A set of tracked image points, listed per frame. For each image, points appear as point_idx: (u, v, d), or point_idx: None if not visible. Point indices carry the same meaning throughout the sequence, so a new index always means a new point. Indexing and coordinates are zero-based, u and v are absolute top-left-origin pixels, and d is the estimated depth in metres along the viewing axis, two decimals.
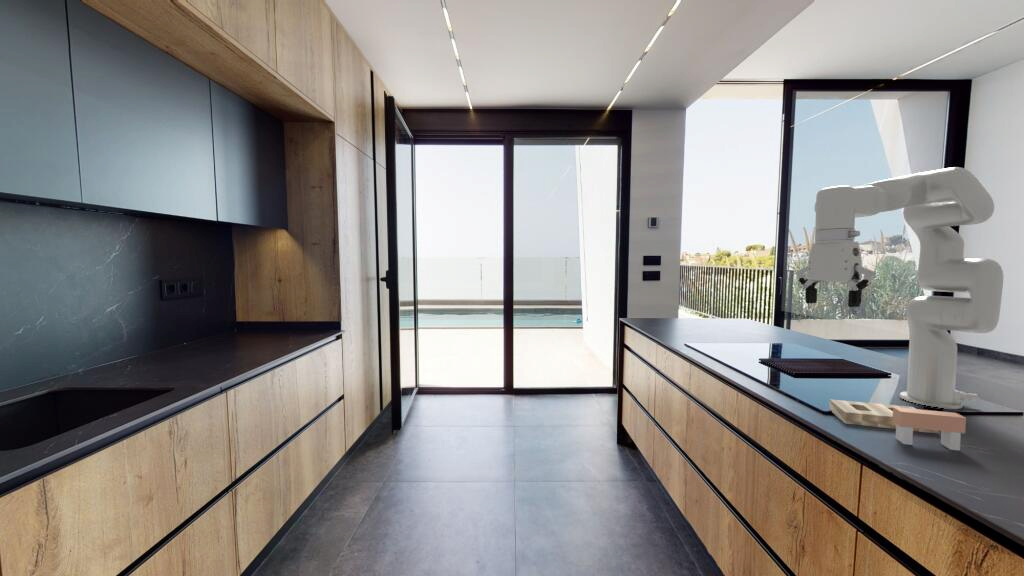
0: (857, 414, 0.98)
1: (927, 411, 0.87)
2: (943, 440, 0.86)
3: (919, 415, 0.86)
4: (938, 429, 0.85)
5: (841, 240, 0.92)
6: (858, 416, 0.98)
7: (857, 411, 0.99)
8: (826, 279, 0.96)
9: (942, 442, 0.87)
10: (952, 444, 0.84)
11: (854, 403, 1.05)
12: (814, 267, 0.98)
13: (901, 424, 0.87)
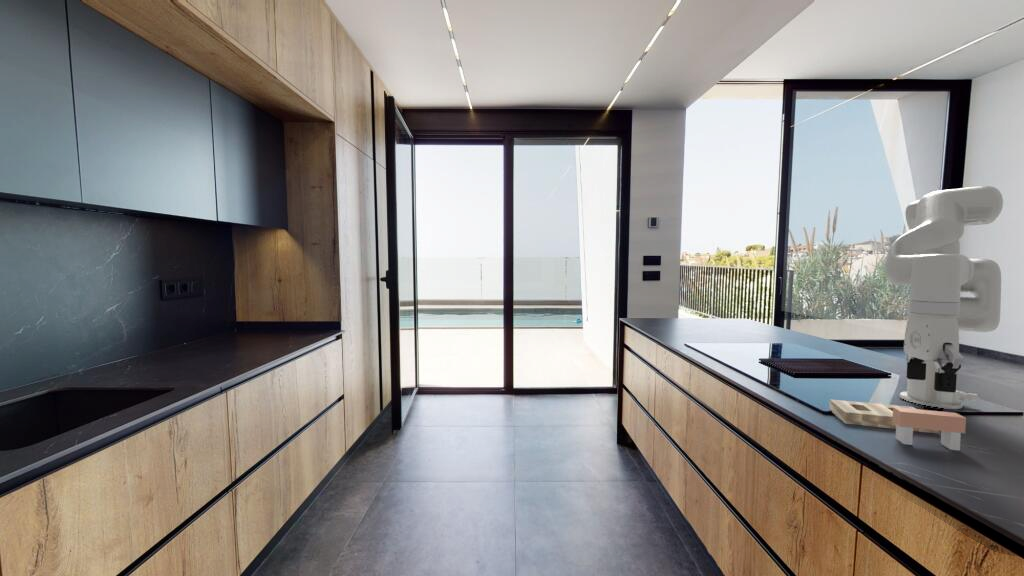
0: (857, 414, 0.98)
1: (927, 411, 0.87)
2: (943, 440, 0.86)
3: (919, 415, 0.86)
4: (938, 429, 0.85)
5: None
6: (858, 416, 0.98)
7: (857, 411, 0.99)
8: None
9: (942, 442, 0.87)
10: (952, 444, 0.84)
11: (854, 403, 1.05)
12: None
13: (901, 424, 0.87)
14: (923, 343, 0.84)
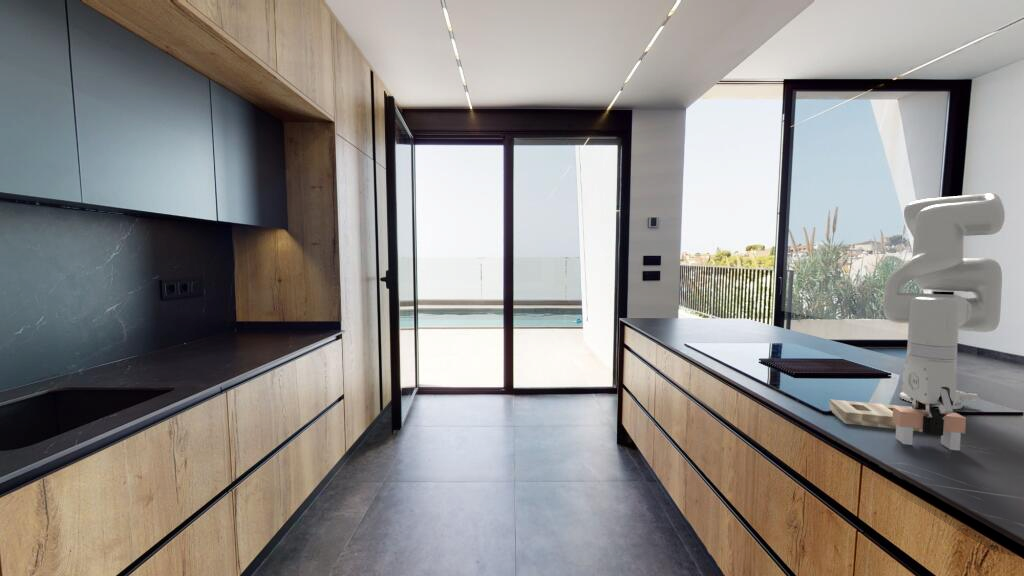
0: (857, 414, 0.98)
1: None
2: (943, 440, 0.86)
3: (919, 415, 0.86)
4: None
5: None
6: (858, 416, 0.98)
7: (857, 411, 0.99)
8: None
9: (942, 442, 0.87)
10: (952, 444, 0.84)
11: (854, 403, 1.05)
12: None
13: (901, 424, 0.87)
14: (921, 386, 0.85)
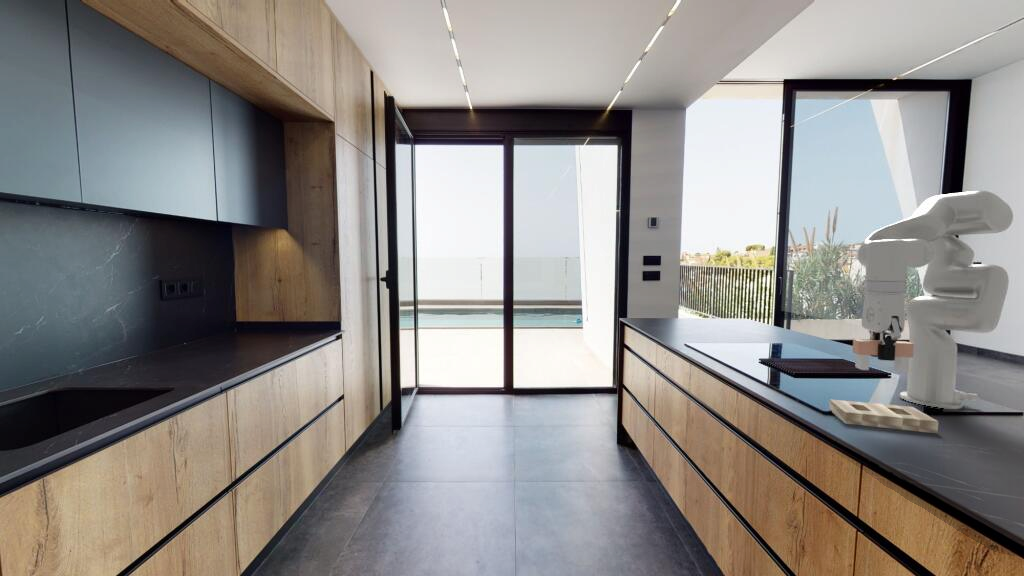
0: (857, 414, 0.98)
1: None
2: (895, 366, 0.99)
3: (875, 344, 0.98)
4: None
5: None
6: (858, 416, 0.98)
7: (857, 411, 0.99)
8: None
9: (895, 368, 0.99)
10: (902, 367, 0.97)
11: (854, 403, 1.05)
12: None
13: (859, 352, 1.00)
14: (875, 317, 0.97)
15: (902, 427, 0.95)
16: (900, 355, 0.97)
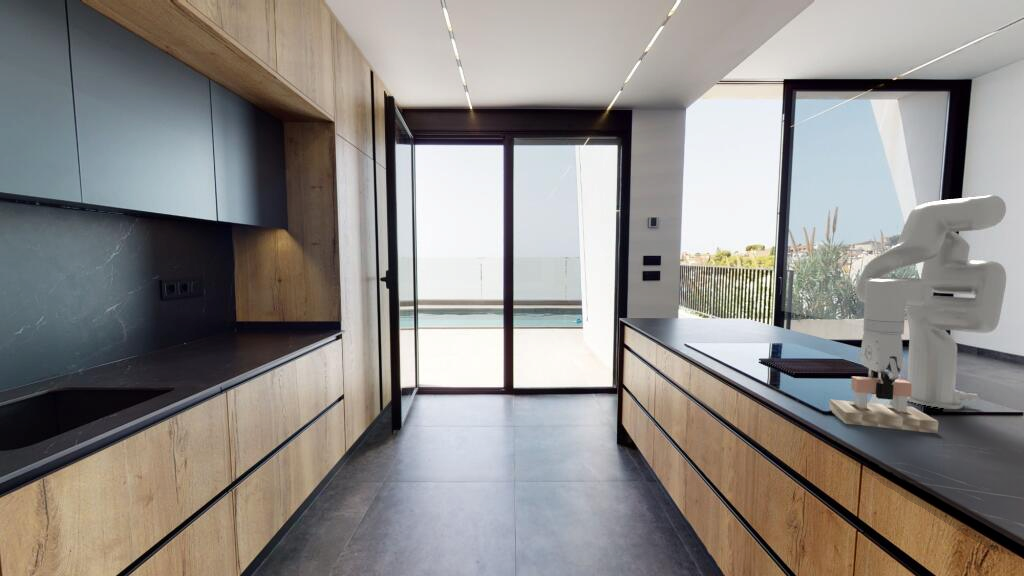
0: (857, 414, 0.98)
1: None
2: (893, 404, 1.00)
3: (873, 382, 0.99)
4: None
5: None
6: (858, 416, 0.98)
7: (857, 411, 0.99)
8: None
9: (893, 406, 1.00)
10: (900, 406, 0.97)
11: None
12: None
13: (857, 390, 1.00)
14: (874, 356, 0.98)
15: (902, 427, 0.95)
16: (898, 394, 0.97)
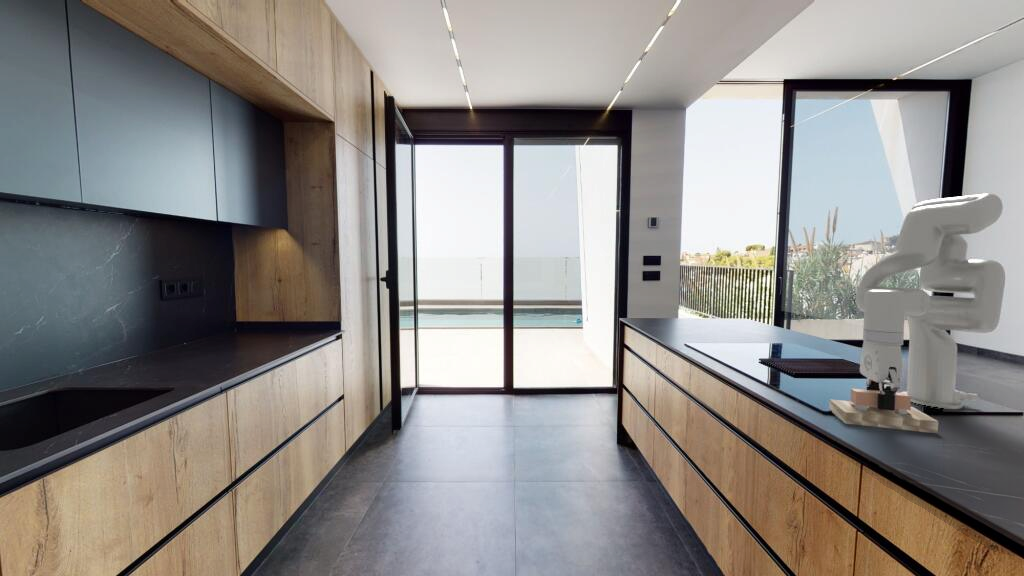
0: (857, 414, 0.98)
1: (879, 391, 1.00)
2: None
3: (872, 395, 0.99)
4: None
5: None
6: (858, 416, 0.98)
7: (857, 411, 0.99)
8: None
9: None
10: None
11: None
12: None
13: (857, 403, 1.01)
14: (873, 366, 0.98)
15: (902, 427, 0.95)
16: (897, 407, 0.98)
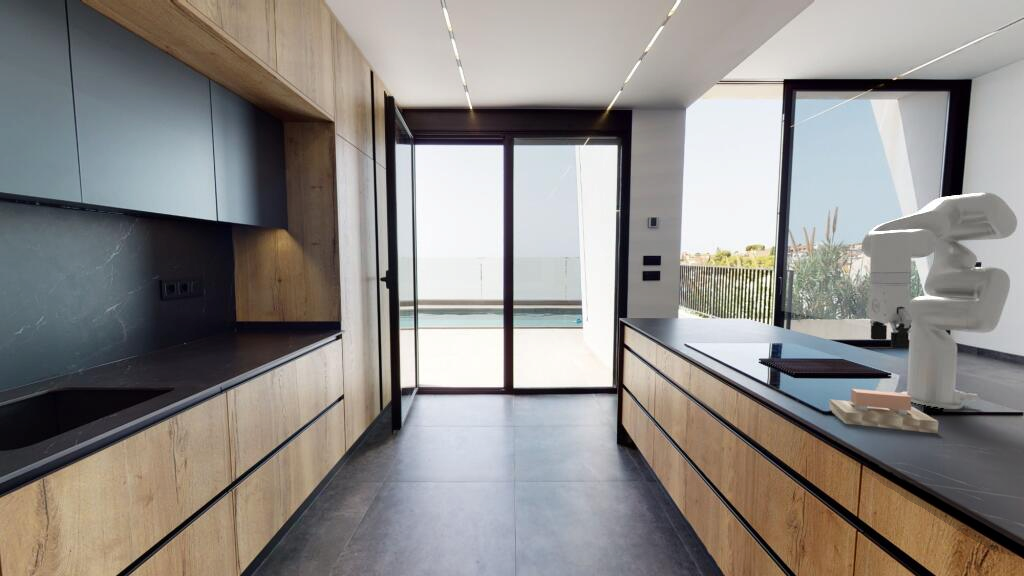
0: (857, 414, 0.98)
1: (879, 392, 1.00)
2: None
3: (872, 395, 0.99)
4: (888, 407, 0.98)
5: None
6: (858, 416, 0.98)
7: (857, 411, 0.99)
8: None
9: None
10: None
11: None
12: None
13: (857, 403, 1.00)
14: (881, 308, 0.98)
15: (902, 427, 0.95)
16: (898, 407, 0.97)
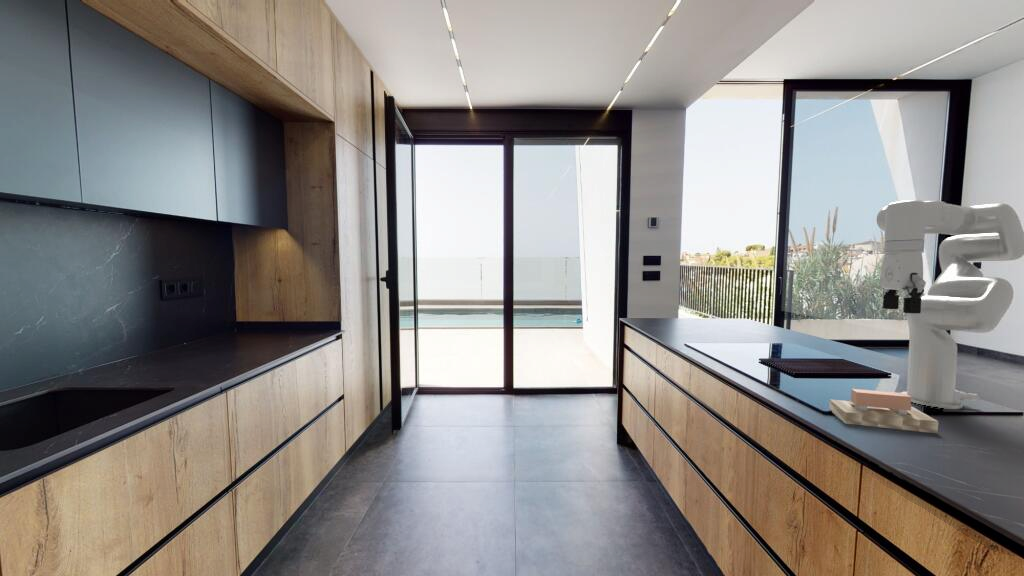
0: (857, 414, 0.98)
1: (879, 392, 1.00)
2: None
3: (872, 395, 0.99)
4: (888, 407, 0.98)
5: None
6: (858, 416, 0.98)
7: (857, 411, 0.99)
8: None
9: None
10: None
11: None
12: None
13: (857, 403, 1.00)
14: (895, 275, 1.01)
15: (902, 427, 0.95)
16: (898, 407, 0.97)
